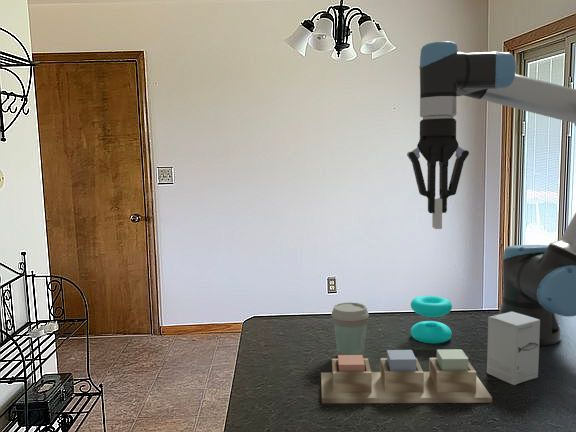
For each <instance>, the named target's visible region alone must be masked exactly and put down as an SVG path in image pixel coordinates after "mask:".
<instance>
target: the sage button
mask: <svg viewBox="0 0 576 432" xmlns="http://www.w3.org/2000/svg"><path fill="white" fill-rule="evenodd" d="M436 358H437V365H438V367H439V369H440V371H468V361H469V359H470V358H469V357H468V356H467V355H466V353H465V352H464V350H462V349H460V348H459V349H453V348H451V349H449V348H448V349H447V348H446V349H436Z"/></svg>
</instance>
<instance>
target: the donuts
mask: <svg viewBox="0 0 576 432" xmlns="http://www.w3.org/2000/svg"><path fill="white" fill-rule="evenodd" d="M410 308H411V310H412V311H413V312H414V313H416V314H418V315H420V316H423V317H428V318H439V317H443V316H446V315H448V314H449V313H450V312H451V311H452V308H453V305H452V302H451V301H450V300H449V299H447V298H446V297H443V296H438V295H420V296H417V297H414V298H413V299H412V300H411V302H410ZM452 334H453V333H452V330H451V328H450V327H449V326H448V325H446V324H445V323H442V322H440V321H435V320H423V321H419V322H417V323H415V324H414V325H412V327H411V329H410V335H411V337H412V338H413V339H414V340H416V341H418V342H422V343H425V344H443V343H445V342H446V343H447V342H448V341H449V340H450V339H452Z"/></svg>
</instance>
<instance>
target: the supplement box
mask: <svg viewBox="0 0 576 432" xmlns="http://www.w3.org/2000/svg"><path fill="white" fill-rule="evenodd" d="M498 314H499V313H498ZM498 314H496V315H491V316H488V317H487V319H488V321H487V356H486V357H487V358H486V359H487V362H486V374H488V375H491V376H493V377H495V378H497V379H499V380H501V381H504V382H505V383H508V384H510V385H512V386H516V385H518V384H521V383H523V382H527V381H531V380H533V379H537V378H538V377H539V359H540V346H539V337H540V320H539V319H536V318H533V317H529V316H526V315H523V314H519V313H516V312H508V313H503V314H499V315H498Z"/></svg>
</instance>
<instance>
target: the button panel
mask: <svg viewBox="0 0 576 432" xmlns="http://www.w3.org/2000/svg"><path fill="white" fill-rule="evenodd" d="M415 358H416V371H388V368H387V357H380V359H379V360H380V362H379V363H380V371H372V370H371V366H370V363H369V362H370V361H369V358H368V357H367V358H364V357H363V360H364V364H365V371H355V372H338V358H331V368H332V369H331V372H330V371H329V372H320V377H321V378H320V379H321V381H320V383H321V384H320V387H321V404H423V403H424V404H432V403H433V404H440V403H441V404H444V403H445V404H449V403H450V404H451V403H452V404H455V403H456V404H457V403H463V404H464V403H466V404H469V403H471V404H473V403H474V404H475V403H477V404H478V403H484V404H485V403H487V404H489V403H493V396H492V395H491V394H490V393H489V391H488V390H487V388H486V387H485V385H484V384H483V383H482V381H481V380H480V378H479V377H478V374H477V371H476V370H475V368H474V367H473V366H472V364H471V363H470V362H469V360H468V371H440V369H439V367H438V365H437V357H429V358H428V362H429V363H428V364H429V365H428V369H429V370H428V371H423V368H422V366H421V364H420V362H419V360H418V357H415Z"/></svg>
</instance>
